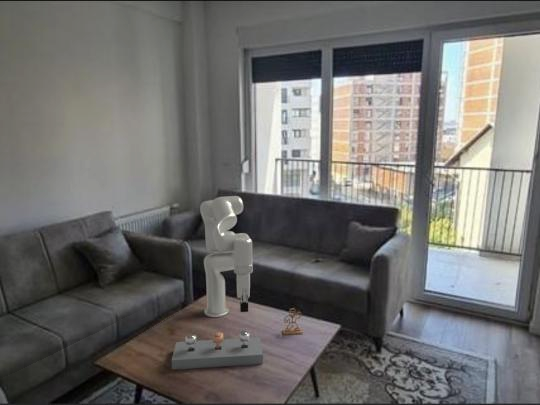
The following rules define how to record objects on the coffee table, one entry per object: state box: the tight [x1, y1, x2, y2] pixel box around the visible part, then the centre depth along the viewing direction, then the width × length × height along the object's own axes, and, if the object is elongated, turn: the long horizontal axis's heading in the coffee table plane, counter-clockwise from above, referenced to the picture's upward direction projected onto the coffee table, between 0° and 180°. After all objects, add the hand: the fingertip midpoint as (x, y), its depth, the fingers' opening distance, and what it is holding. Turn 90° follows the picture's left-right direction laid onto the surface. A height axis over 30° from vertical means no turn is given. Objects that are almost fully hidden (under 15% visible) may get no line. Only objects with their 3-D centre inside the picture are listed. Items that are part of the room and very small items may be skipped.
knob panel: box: [171, 336, 264, 370], centre depth 163 cm, size 14×36×4 cm, turn 96°
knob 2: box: [238, 330, 251, 347], centre depth 164 cm, size 4×4×6 cm
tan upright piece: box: [282, 307, 303, 336], centre depth 183 cm, size 9×4×12 cm, turn 95°
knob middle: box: [211, 331, 224, 349], centre depth 162 cm, size 4×4×6 cm
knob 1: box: [184, 333, 197, 350], centre depth 161 cm, size 4×4×6 cm
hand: (244, 311), depth 161 cm, fingers closed
